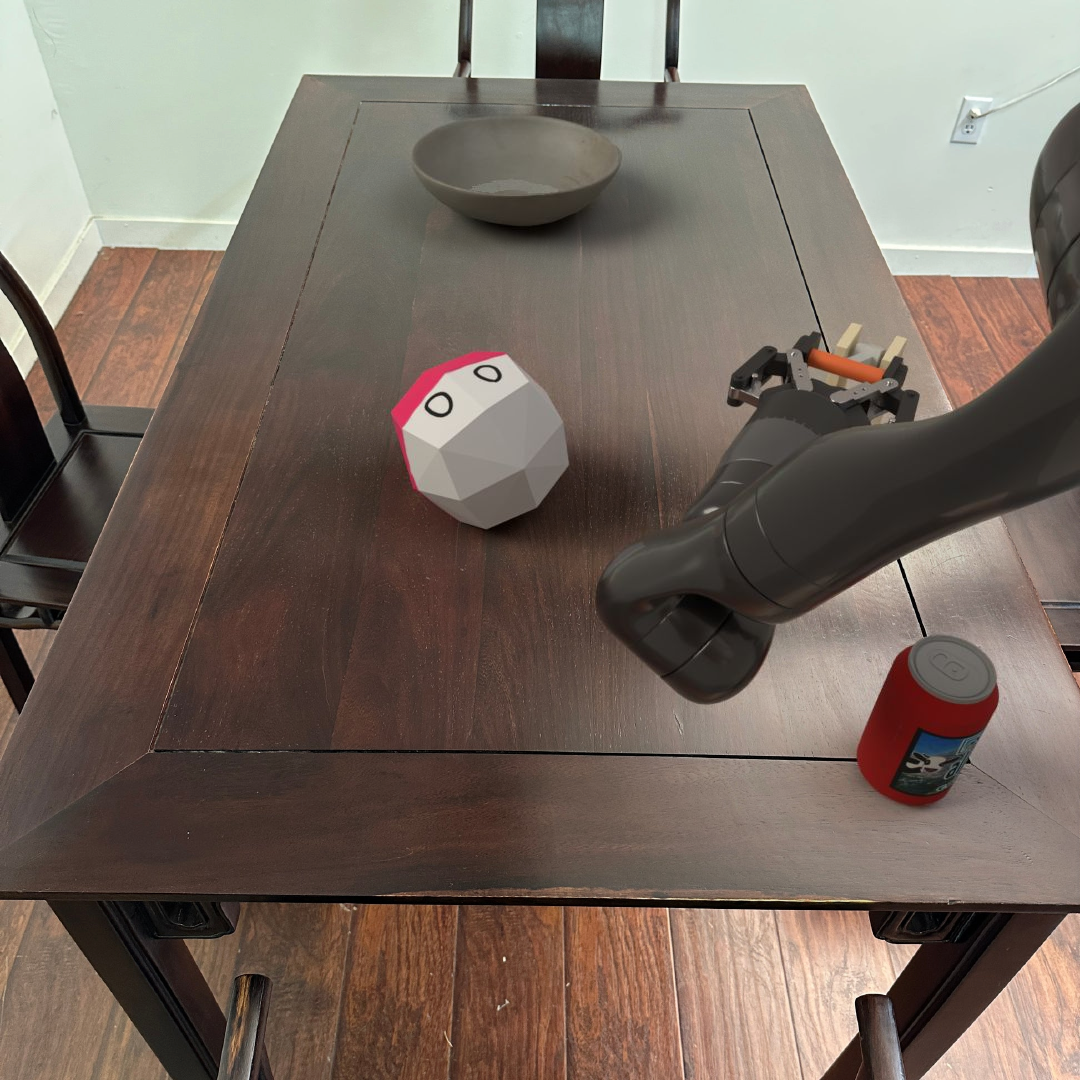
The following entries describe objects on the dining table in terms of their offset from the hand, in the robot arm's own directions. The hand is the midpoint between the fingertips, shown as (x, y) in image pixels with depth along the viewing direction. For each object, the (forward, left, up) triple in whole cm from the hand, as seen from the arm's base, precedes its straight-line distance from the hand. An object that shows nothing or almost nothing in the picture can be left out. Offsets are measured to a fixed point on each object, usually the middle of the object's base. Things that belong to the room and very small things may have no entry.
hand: (854, 354), depth 78 cm
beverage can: (-15, +23, -17) cm, 33 cm away
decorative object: (+27, +14, -17) cm, 35 cm away
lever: (0, -2, -3) cm, 4 cm away
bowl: (+56, -39, -17) cm, 70 cm away
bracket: (0, -7, -17) cm, 18 cm away
